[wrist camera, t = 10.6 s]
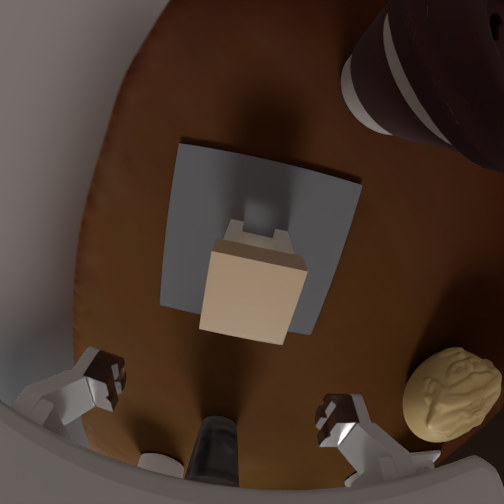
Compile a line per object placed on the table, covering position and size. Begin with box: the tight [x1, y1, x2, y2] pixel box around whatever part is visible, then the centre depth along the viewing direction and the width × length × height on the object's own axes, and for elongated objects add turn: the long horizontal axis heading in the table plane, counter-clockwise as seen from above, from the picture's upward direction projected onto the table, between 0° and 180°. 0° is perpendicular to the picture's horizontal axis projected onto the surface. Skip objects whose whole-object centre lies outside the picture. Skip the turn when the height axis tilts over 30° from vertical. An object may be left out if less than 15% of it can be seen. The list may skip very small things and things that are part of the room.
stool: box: [199, 219, 308, 345], centre depth 19 cm, size 5×5×8 cm
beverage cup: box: [184, 416, 239, 487], centre depth 22 cm, size 7×7×20 cm
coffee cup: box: [341, 0, 504, 173], centre depth 10 cm, size 10×10×15 cm
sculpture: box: [403, 347, 502, 442], centre depth 23 cm, size 11×12×11 cm
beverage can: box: [137, 453, 184, 478], centre depth 32 cm, size 8×8×12 cm
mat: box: [160, 143, 362, 335], centre depth 22 cm, size 14×14×1 cm
